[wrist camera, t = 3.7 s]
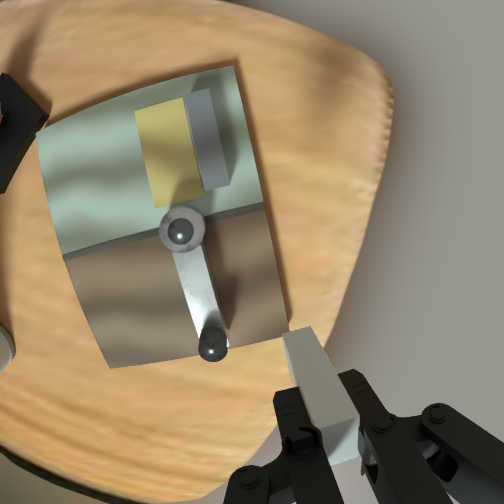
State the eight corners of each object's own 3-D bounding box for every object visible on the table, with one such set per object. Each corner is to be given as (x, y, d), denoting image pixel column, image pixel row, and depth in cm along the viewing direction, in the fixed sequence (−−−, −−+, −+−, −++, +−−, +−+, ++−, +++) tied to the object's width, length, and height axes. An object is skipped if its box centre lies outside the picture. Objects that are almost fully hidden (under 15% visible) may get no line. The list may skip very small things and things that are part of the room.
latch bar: (160, 210, 25) (147, 217, 20) (200, 199, 25) (195, 204, 21) (199, 339, 28) (196, 365, 24) (234, 331, 28) (237, 357, 24)
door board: (43, 134, 23) (21, 130, 19) (232, 70, 24) (234, 55, 20) (113, 361, 30) (103, 382, 26) (287, 327, 31) (295, 347, 27)
